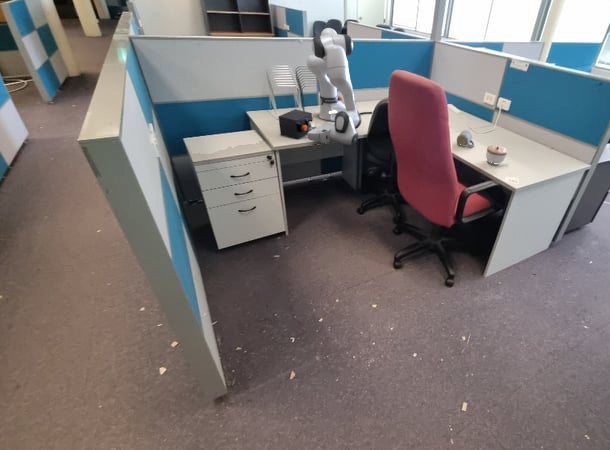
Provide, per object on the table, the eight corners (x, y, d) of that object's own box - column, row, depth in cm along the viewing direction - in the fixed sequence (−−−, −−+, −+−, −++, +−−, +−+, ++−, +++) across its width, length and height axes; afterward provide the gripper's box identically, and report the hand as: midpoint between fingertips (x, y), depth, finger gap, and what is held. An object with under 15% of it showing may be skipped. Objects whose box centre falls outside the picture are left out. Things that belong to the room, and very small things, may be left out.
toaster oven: (298, 126, 210) (297, 108, 203) (316, 130, 206) (315, 112, 199) (280, 135, 196) (278, 116, 189) (299, 139, 192) (297, 120, 185)
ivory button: (311, 125, 199) (311, 120, 197) (314, 126, 199) (313, 121, 197) (308, 127, 197) (308, 122, 195) (311, 127, 196) (310, 122, 194)
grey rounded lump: (454, 145, 201) (457, 132, 196) (459, 140, 207) (461, 129, 202) (471, 149, 197) (474, 137, 193) (475, 145, 203) (478, 133, 199)
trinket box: (485, 156, 190) (489, 141, 184) (504, 161, 187) (509, 145, 181) (482, 164, 182) (486, 148, 176) (502, 168, 179) (507, 152, 173)
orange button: (304, 129, 194) (304, 123, 192) (307, 129, 194) (307, 124, 192) (301, 130, 192) (301, 125, 190) (304, 131, 191) (304, 126, 189)
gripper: (339, 122, 192) (319, 118, 196) (320, 133, 177) (299, 128, 181) (339, 133, 196) (320, 128, 200) (321, 144, 181) (300, 139, 185)
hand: (309, 128), depth 190 cm, fingers closed
